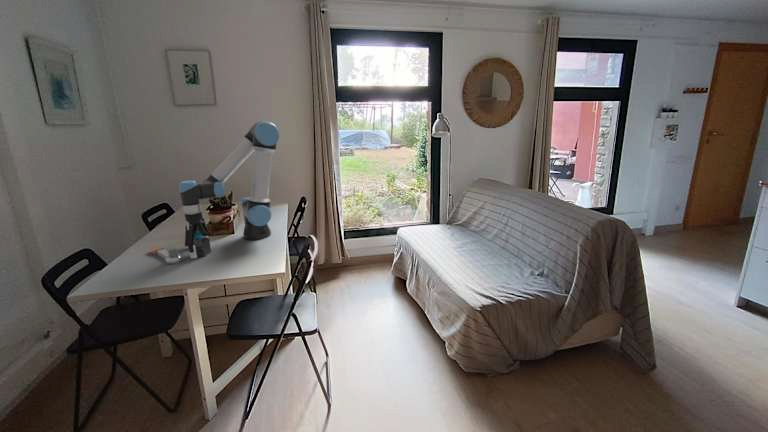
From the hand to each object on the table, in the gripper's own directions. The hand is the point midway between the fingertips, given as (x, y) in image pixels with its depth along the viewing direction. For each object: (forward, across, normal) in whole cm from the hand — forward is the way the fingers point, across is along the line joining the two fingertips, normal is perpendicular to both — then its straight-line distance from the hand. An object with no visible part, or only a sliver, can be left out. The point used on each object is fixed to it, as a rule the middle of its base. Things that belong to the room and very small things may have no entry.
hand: (200, 252), depth 174 cm
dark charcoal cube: (+1, 0, 0) cm, 1 cm away
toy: (+1, -13, -7) cm, 15 cm away
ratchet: (+1, +1, -17) cm, 17 cm away
